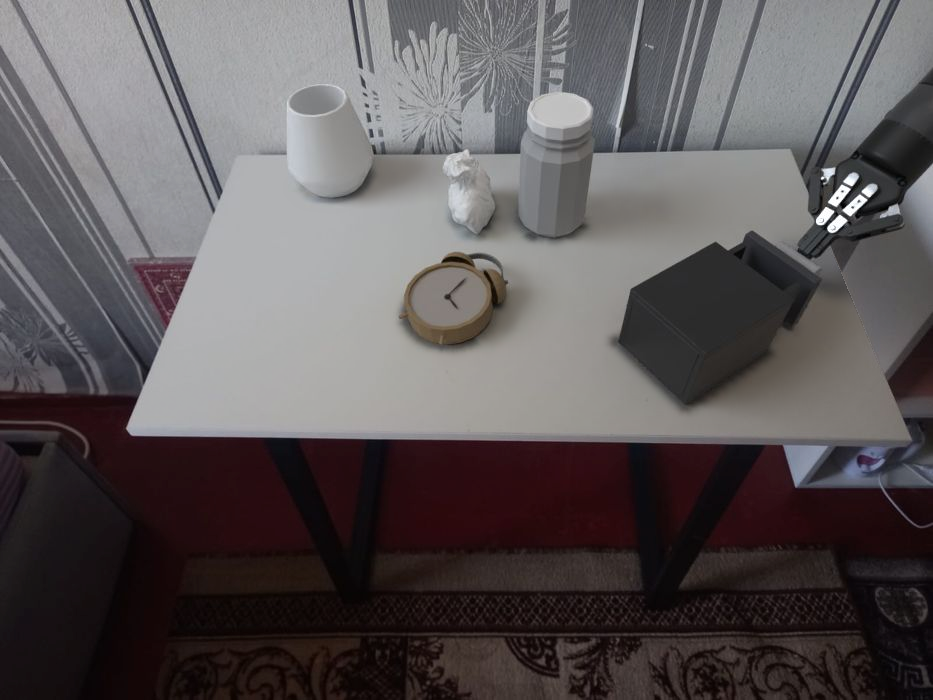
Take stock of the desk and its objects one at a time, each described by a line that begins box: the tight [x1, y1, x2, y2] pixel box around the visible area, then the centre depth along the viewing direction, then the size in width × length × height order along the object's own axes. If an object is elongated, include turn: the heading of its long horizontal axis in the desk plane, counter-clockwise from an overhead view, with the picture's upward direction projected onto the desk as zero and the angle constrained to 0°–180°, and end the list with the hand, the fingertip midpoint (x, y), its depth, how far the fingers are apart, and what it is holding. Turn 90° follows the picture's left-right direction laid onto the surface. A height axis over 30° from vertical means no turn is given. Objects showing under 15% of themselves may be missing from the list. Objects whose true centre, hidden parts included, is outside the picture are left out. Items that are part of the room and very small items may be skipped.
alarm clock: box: [398, 251, 509, 346], centre depth 85 cm, size 11×5×15 cm
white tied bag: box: [441, 148, 496, 235], centre depth 94 cm, size 12×8×11 cm
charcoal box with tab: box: [618, 241, 794, 406], centre depth 77 cm, size 14×12×10 cm
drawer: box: [727, 230, 823, 328], centre depth 80 cm, size 17×10×8 cm, turn 123°
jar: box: [517, 91, 596, 239], centre depth 90 cm, size 10×10×18 cm
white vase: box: [286, 83, 375, 199], centre depth 99 cm, size 13×13×14 cm
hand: (802, 255), depth 82 cm, fingers closed
